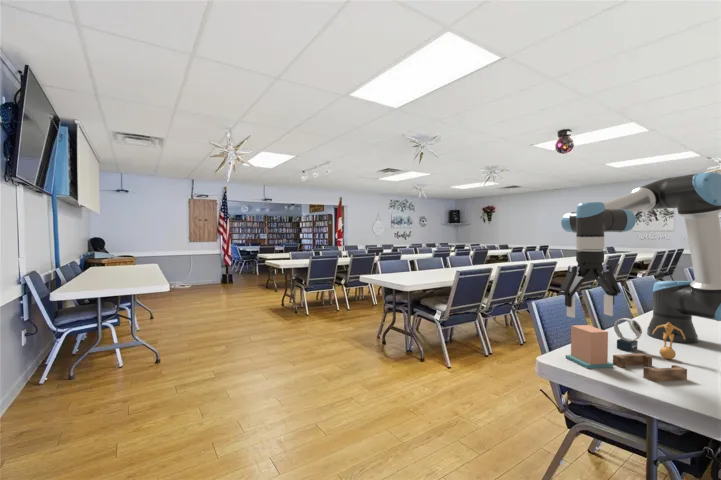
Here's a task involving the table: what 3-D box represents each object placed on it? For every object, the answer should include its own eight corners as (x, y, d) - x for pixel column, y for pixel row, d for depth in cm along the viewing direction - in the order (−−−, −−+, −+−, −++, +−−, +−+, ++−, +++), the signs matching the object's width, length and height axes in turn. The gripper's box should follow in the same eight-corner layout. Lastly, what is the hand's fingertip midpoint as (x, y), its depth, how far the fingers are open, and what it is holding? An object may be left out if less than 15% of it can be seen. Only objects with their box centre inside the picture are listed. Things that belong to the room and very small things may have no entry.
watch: (637, 353, 118) (638, 322, 118) (611, 347, 125) (611, 317, 125) (644, 350, 121) (644, 320, 121) (617, 344, 128) (618, 315, 128)
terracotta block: (586, 354, 114) (587, 325, 114) (607, 363, 106) (607, 331, 106) (570, 355, 113) (571, 325, 113) (590, 364, 105) (590, 332, 105)
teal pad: (589, 356, 115) (589, 353, 115) (612, 367, 106) (612, 363, 106) (565, 358, 113) (565, 355, 113) (587, 368, 104) (587, 365, 104)
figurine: (650, 356, 115) (650, 321, 115) (653, 352, 119) (653, 318, 119) (683, 363, 109) (684, 326, 109) (685, 359, 113) (686, 323, 113)
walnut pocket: (642, 362, 110) (642, 353, 110) (686, 379, 97) (687, 369, 97) (612, 364, 108) (613, 354, 108) (653, 381, 95) (653, 371, 95)
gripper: (613, 249, 115) (613, 311, 115) (546, 250, 111) (546, 314, 111) (634, 250, 107) (634, 317, 108) (563, 251, 104) (563, 320, 104)
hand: (589, 316), depth 109 cm, fingers open, 13 cm apart
